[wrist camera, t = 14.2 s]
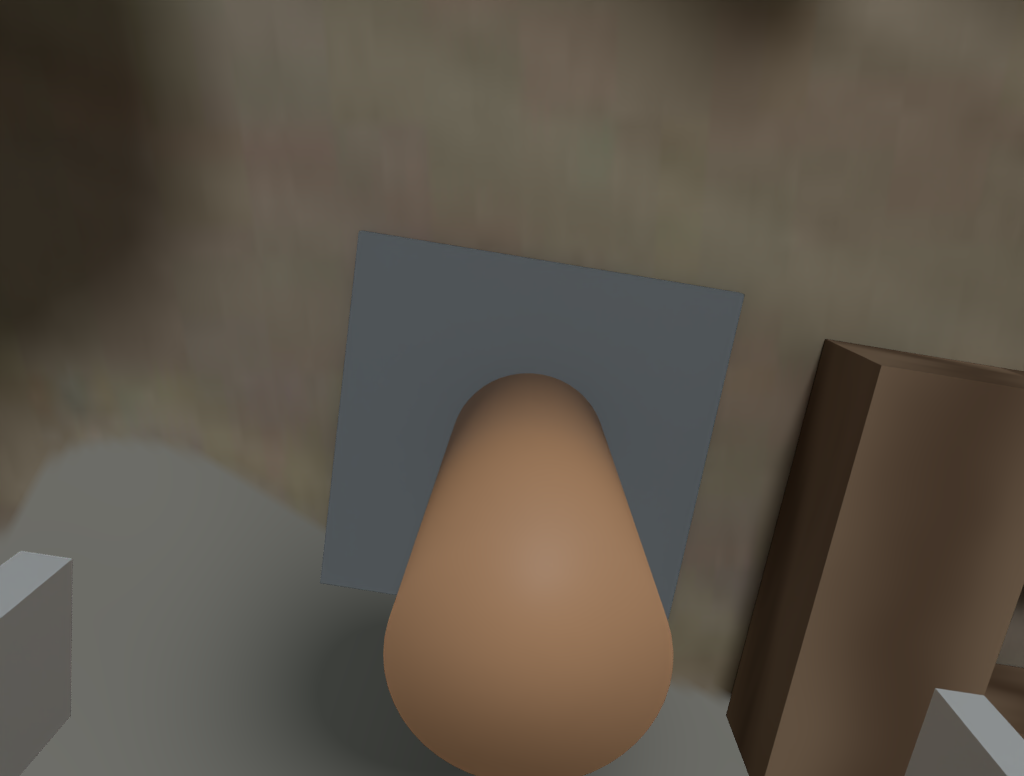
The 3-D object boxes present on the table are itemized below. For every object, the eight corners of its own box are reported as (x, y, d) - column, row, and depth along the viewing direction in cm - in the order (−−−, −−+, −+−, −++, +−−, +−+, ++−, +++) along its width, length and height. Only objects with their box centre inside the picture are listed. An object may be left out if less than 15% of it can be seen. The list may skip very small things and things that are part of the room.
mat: (323, 576, 27) (320, 583, 26) (362, 230, 24) (358, 231, 23) (661, 629, 27) (664, 636, 26) (740, 292, 24) (744, 294, 24)
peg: (440, 506, 25) (365, 760, 14) (464, 360, 24) (404, 503, 13) (588, 531, 25) (639, 804, 14) (618, 387, 24) (702, 553, 13)
